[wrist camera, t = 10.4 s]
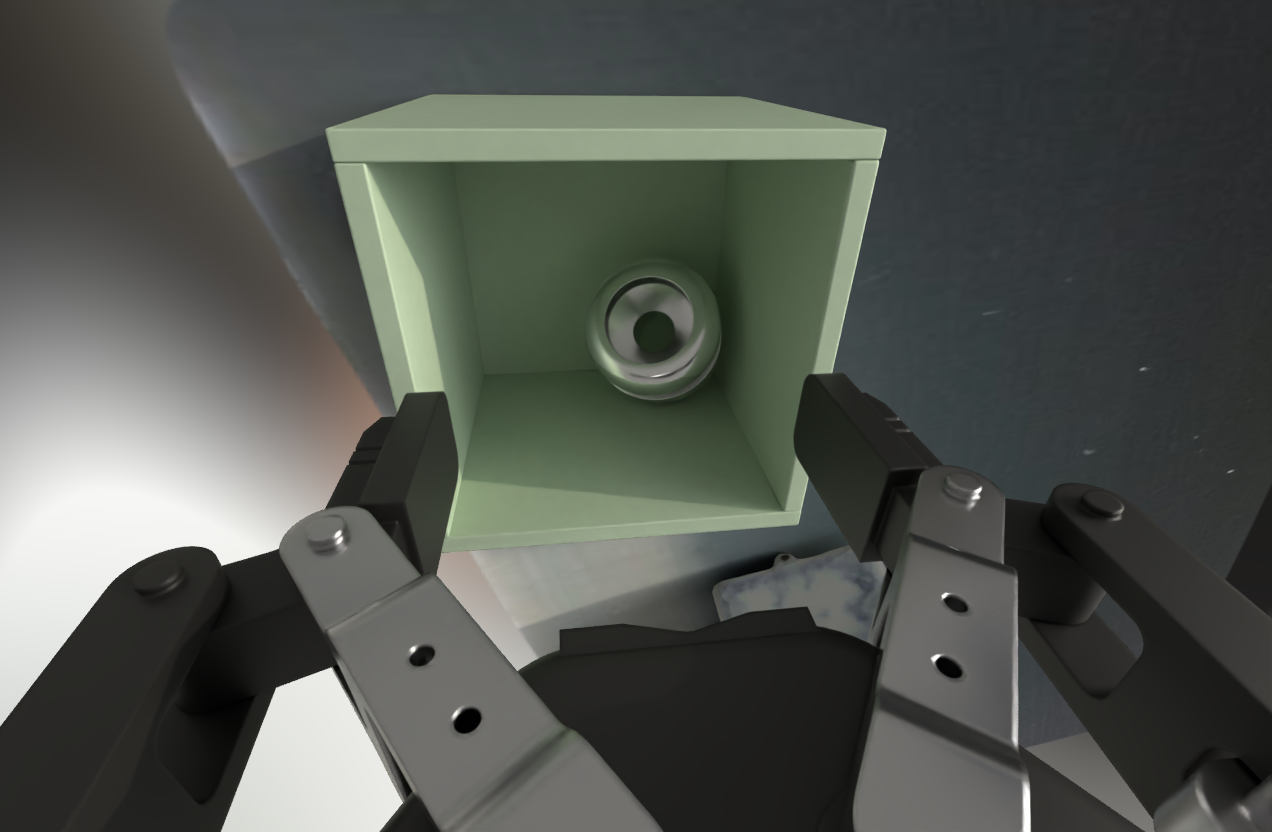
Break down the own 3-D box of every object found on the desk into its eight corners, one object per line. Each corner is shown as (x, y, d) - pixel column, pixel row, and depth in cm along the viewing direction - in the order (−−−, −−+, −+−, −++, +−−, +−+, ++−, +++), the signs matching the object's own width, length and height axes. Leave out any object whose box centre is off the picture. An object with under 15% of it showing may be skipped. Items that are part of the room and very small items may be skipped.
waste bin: (429, 94, 20) (322, 128, 11) (743, 96, 21) (888, 128, 12) (474, 378, 26) (431, 554, 17) (716, 367, 27) (798, 525, 18)
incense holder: (729, 647, 39) (779, 818, 30) (704, 569, 34) (755, 744, 26) (869, 607, 38) (961, 770, 30) (862, 523, 34) (968, 686, 25)
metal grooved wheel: (574, 335, 23) (648, 429, 22) (551, 313, 20) (636, 420, 19) (669, 257, 23) (748, 349, 22) (660, 223, 20) (751, 327, 19)
